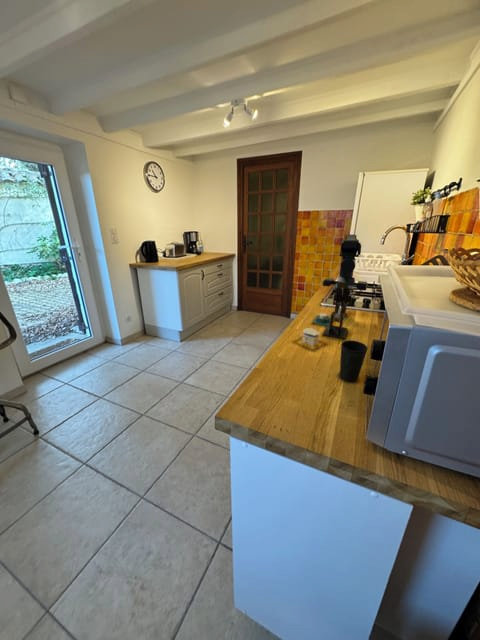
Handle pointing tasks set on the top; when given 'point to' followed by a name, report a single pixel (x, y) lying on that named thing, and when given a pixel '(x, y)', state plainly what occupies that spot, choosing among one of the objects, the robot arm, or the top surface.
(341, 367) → the cup
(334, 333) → the toaster bracket
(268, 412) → the top surface
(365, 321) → the top surface
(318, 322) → the button housing
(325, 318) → the button
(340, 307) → the press lever
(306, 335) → the stacked layers on plate
